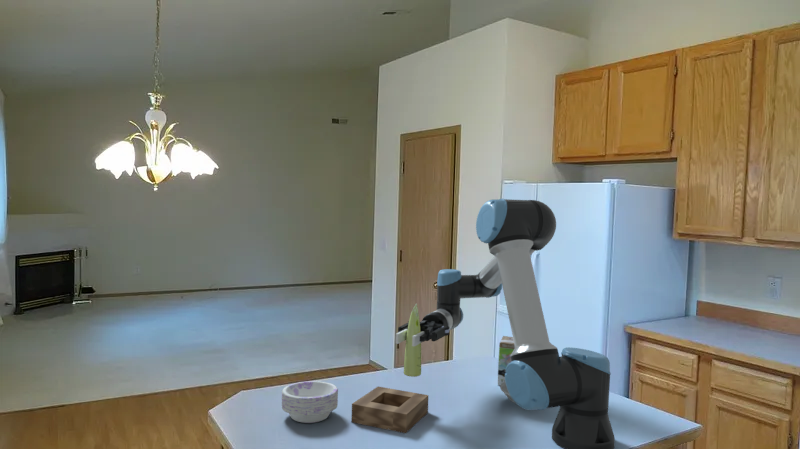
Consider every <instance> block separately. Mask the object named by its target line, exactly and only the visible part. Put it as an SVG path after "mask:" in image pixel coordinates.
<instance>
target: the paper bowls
mask: <svg viewBox="0 0 800 449" xmlns="http://www.w3.org/2000/svg"><path fill="white" fill-rule="evenodd" d="M338 395H339V388H338V387H337V386H336V385H335V384H333V383H331V382H326V381H319V380H317V381H315V380H309V381H299V382H295V383H291V384H289V385H286V386H284V387H283V389H282V390H281V409H282V411H284V412H285V413H288V414H289V416H290V418H291V419H292V420H293V421H295V422H298V423H302V424H304V423H305V424H312V423H319V422H321V421H322V422H323V421H324V420H326V419H327V418H328V417H329V415H330V414H331V412H333V411H335V410H336V409H337V408H338V402H339V400H338V398H339V397H338Z"/></svg>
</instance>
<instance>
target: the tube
mask: <svg viewBox="0 0 800 449" xmlns="http://www.w3.org/2000/svg"><path fill="white" fill-rule="evenodd" d="M408 321H409V325H408V330H407V338H406V340H405V350H404V361H403V362H404V363H403V374H404V376H407V377H412V378H415V377H419V376H421V375H422V343H420V344H418V345H416V346H412V336H414V335H416V334H417V333H419V332H420V322H421V320H420V314H419V308H418V303H415V305H414V307H413V308H412V310H411V312H410V316H409V319H408Z"/></svg>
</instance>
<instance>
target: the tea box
mask: <svg viewBox="0 0 800 449" xmlns="http://www.w3.org/2000/svg"><path fill="white" fill-rule="evenodd" d="M514 349H515V345H514V340H513V336H508V335H507V336H506V335H502V337H501V340H500V342H499V347H498V362H497V363H498V366H497V386H500V385H501V384H502V383H504V382H505V373H506V371H505V370H506V367H507V365H508V364H509V363H511V356H510V355H511V354H512V352H513V350H514Z"/></svg>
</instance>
